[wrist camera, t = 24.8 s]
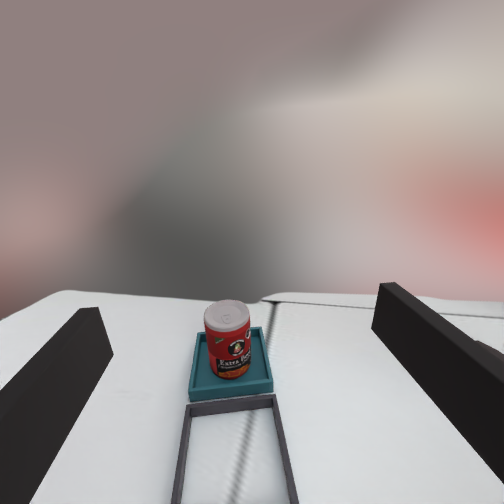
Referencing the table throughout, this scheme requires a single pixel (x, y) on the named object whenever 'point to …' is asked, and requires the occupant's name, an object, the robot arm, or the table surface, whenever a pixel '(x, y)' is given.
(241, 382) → the tray
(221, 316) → the canned food
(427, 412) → the table surface
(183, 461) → the tray
